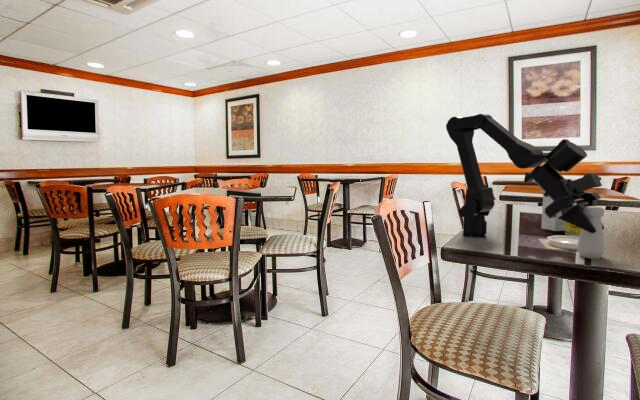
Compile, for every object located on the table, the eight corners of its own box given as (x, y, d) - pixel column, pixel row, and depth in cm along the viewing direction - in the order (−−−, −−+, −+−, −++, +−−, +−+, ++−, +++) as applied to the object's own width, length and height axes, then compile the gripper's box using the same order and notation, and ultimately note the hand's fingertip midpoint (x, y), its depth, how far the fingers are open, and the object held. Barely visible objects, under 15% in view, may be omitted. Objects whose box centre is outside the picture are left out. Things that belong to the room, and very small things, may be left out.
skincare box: (560, 227, 129) (562, 185, 127) (575, 230, 123) (578, 186, 121) (540, 228, 127) (542, 186, 125) (554, 232, 122) (557, 187, 120)
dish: (552, 248, 101) (552, 242, 100) (543, 239, 111) (544, 234, 111) (600, 251, 97) (601, 245, 97) (587, 241, 107) (587, 236, 107)
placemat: (546, 249, 101) (546, 248, 101) (537, 239, 112) (537, 238, 112) (608, 253, 96) (608, 252, 96) (592, 243, 107) (592, 241, 107)
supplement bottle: (581, 234, 119) (583, 204, 117) (587, 237, 114) (590, 206, 112) (562, 233, 120) (564, 204, 119) (567, 236, 115) (569, 206, 114)
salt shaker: (609, 261, 89) (613, 208, 88) (583, 260, 90) (586, 208, 89) (596, 255, 95) (600, 205, 93) (571, 254, 96) (575, 204, 94)
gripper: (561, 163, 88) (613, 215, 80) (594, 161, 98) (643, 207, 90) (526, 193, 95) (570, 243, 88) (560, 189, 105) (603, 233, 98)
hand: (598, 231), depth 91 cm, fingers open, 4 cm apart
